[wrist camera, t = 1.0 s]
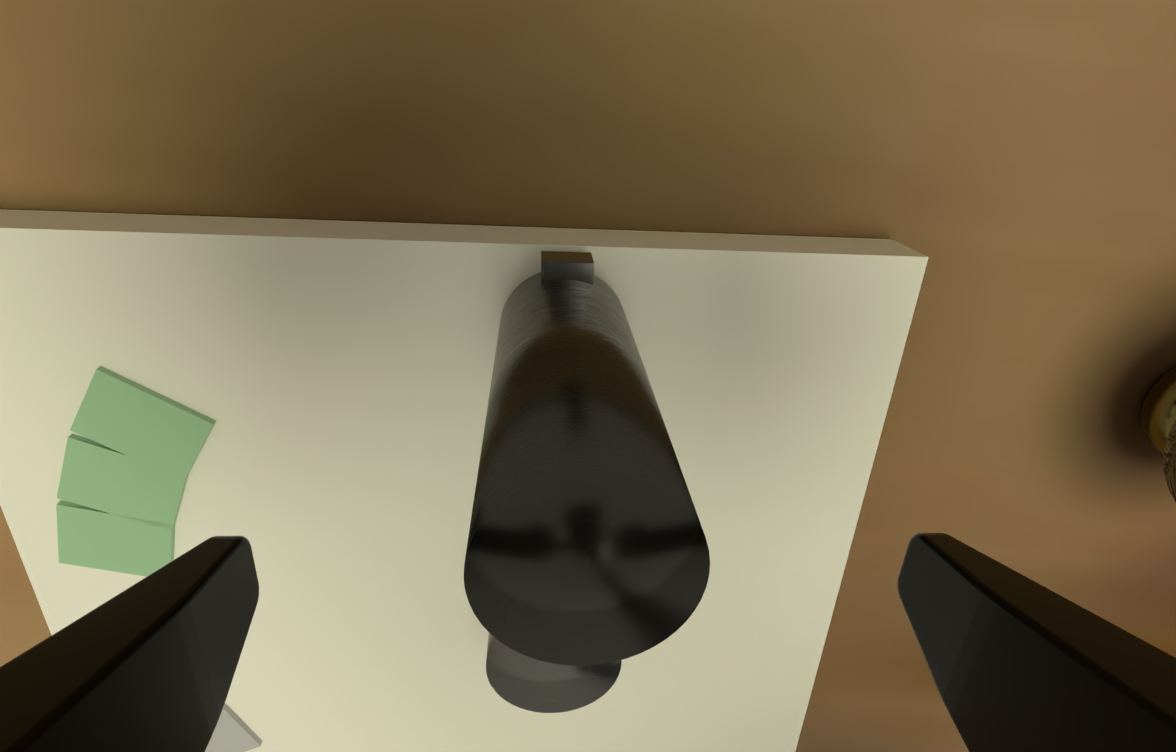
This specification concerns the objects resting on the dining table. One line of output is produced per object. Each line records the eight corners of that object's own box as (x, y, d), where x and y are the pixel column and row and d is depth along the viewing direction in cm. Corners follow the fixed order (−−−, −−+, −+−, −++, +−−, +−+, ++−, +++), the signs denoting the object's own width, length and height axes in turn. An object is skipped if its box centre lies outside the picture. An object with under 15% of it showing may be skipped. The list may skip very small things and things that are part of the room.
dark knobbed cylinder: (611, 668, 22) (655, 1024, 14) (490, 671, 22) (461, 1037, 13) (648, 253, 16) (762, 444, 8) (482, 248, 16) (423, 442, 8)
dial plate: (767, 749, 28) (785, 801, 26) (153, 770, 26) (122, 828, 24) (891, 239, 19) (933, 258, 17) (-41, 208, 17) (-118, 225, 15)
